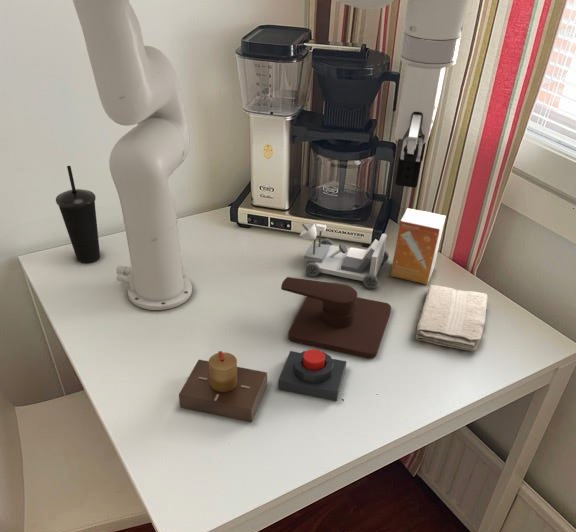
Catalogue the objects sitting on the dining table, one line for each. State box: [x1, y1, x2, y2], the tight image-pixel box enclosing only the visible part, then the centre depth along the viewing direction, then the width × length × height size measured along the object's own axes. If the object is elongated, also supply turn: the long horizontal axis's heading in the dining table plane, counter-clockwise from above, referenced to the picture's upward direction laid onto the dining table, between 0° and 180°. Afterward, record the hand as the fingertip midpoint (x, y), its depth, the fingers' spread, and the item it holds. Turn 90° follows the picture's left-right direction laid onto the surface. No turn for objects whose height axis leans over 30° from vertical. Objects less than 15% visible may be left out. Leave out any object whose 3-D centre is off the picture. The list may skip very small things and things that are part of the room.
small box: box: [390, 207, 447, 286], centre depth 126 cm, size 8×6×13 cm
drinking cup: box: [55, 165, 101, 264], centre depth 124 cm, size 8×8×20 cm
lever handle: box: [280, 276, 392, 360], centre depth 114 cm, size 16×7×20 cm
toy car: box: [299, 222, 390, 290], centre depth 128 cm, size 18×10×12 cm
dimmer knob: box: [208, 350, 238, 392], centre depth 97 cm, size 4×4×5 cm
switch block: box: [277, 350, 347, 402], centre depth 103 cm, size 10×8×4 cm
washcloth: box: [415, 284, 489, 352], centre depth 117 cm, size 12×18×3 cm, turn 163°
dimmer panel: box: [178, 359, 268, 423], centre depth 99 cm, size 12×9×3 cm
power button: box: [303, 348, 325, 371], centre depth 101 cm, size 4×4×2 cm
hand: (409, 172), depth 94 cm, fingers open, 9 cm apart
